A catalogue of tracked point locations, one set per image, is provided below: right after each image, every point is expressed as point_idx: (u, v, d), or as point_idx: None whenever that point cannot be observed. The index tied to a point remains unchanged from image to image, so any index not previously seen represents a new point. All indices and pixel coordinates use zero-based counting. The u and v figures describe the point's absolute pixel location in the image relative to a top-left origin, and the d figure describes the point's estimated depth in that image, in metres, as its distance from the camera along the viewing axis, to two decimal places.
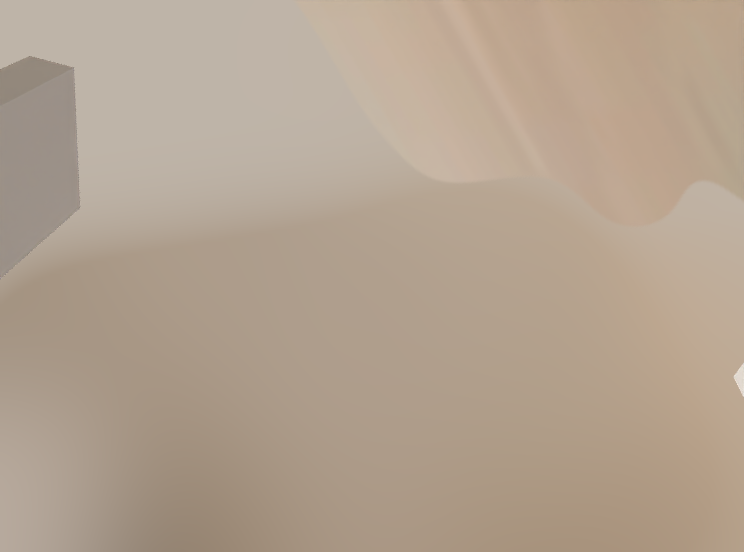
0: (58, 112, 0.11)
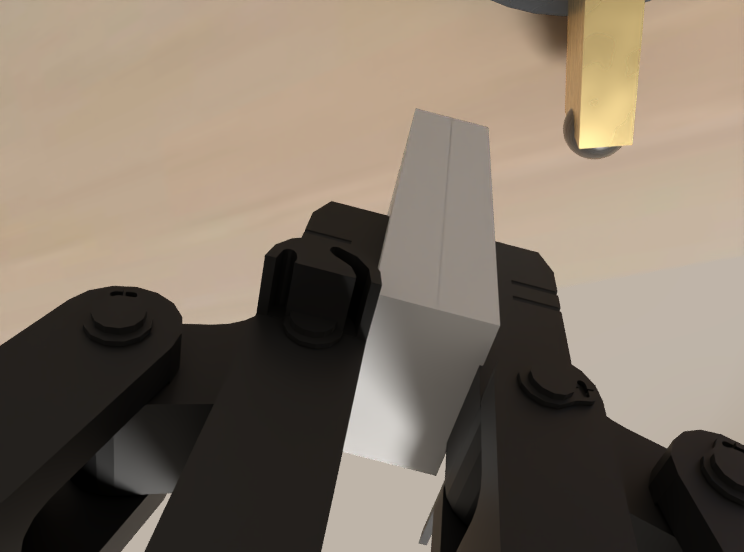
0: None
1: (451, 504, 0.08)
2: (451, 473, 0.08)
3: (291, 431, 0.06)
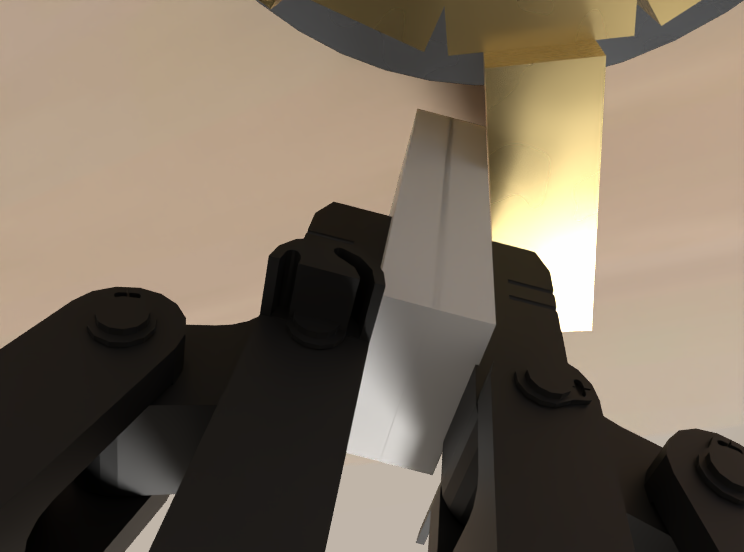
0: None
1: (448, 502, 0.08)
2: (448, 472, 0.08)
3: (294, 432, 0.06)
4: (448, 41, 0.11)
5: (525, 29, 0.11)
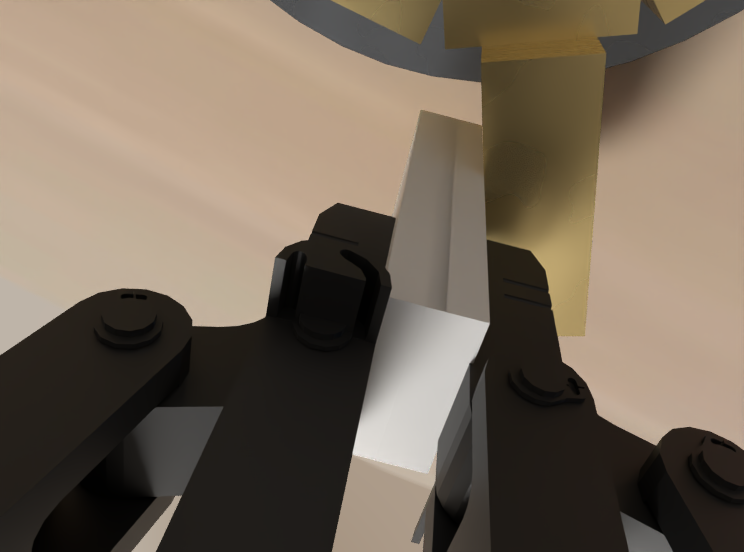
0: None
1: (443, 503, 0.08)
2: (443, 471, 0.08)
3: (301, 434, 0.06)
4: (445, 34, 0.10)
5: (525, 24, 0.10)
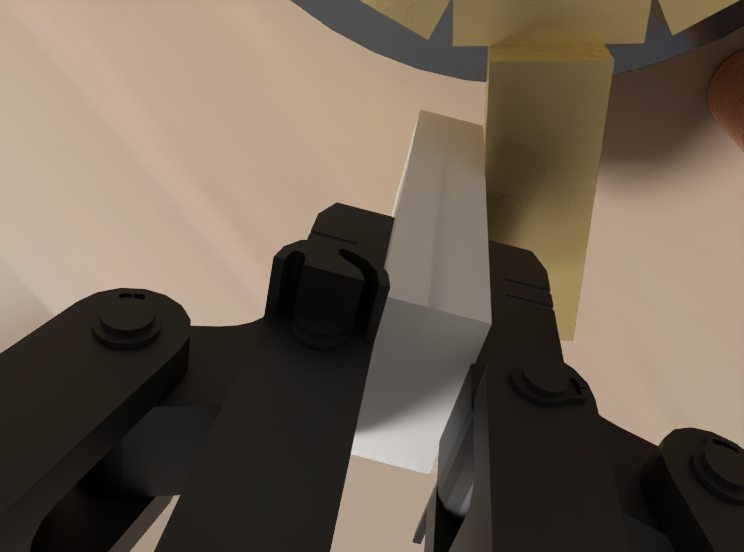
0: None
1: (445, 503, 0.08)
2: (444, 471, 0.08)
3: (299, 433, 0.06)
4: (454, 31, 0.10)
5: (534, 26, 0.10)
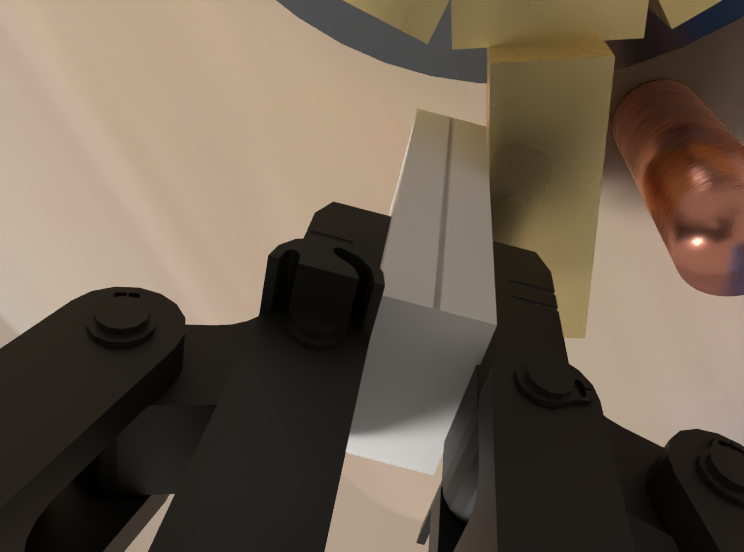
0: None
1: (449, 503, 0.08)
2: (448, 473, 0.08)
3: (294, 432, 0.06)
4: (453, 34, 0.10)
5: (533, 26, 0.10)
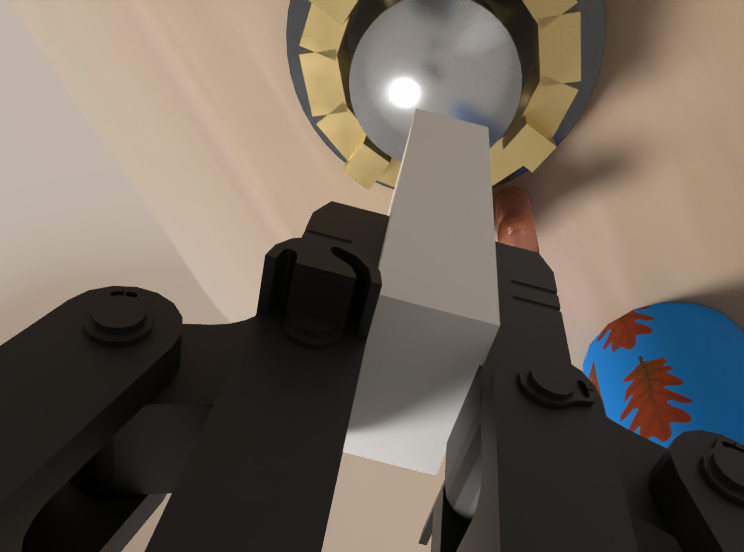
0: None
1: (451, 503, 0.08)
2: (451, 473, 0.08)
3: (292, 431, 0.06)
4: None
5: None
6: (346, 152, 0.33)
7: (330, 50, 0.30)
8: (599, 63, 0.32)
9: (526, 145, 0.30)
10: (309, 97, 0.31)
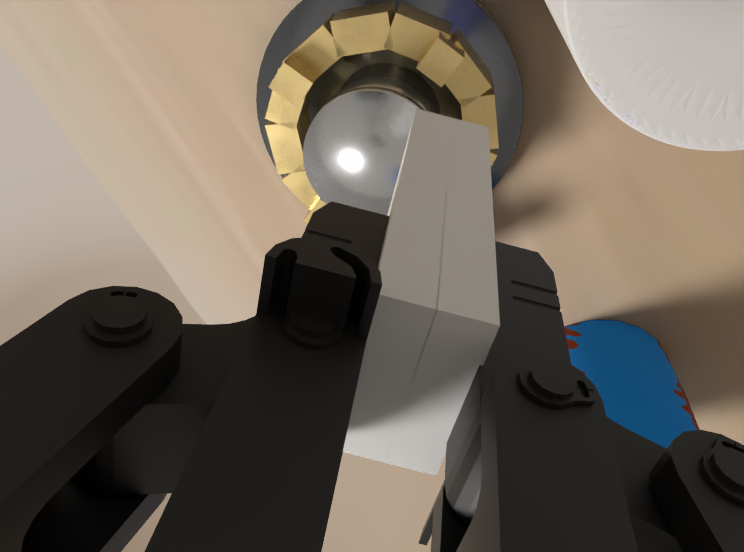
0: None
1: (451, 503, 0.08)
2: (451, 473, 0.08)
3: (292, 432, 0.06)
4: None
5: None
6: (308, 203, 0.39)
7: (291, 122, 0.36)
8: (520, 127, 0.38)
9: None
10: (275, 159, 0.37)
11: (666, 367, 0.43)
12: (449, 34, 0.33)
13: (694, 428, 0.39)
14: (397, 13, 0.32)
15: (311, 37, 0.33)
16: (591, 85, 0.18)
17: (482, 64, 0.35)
